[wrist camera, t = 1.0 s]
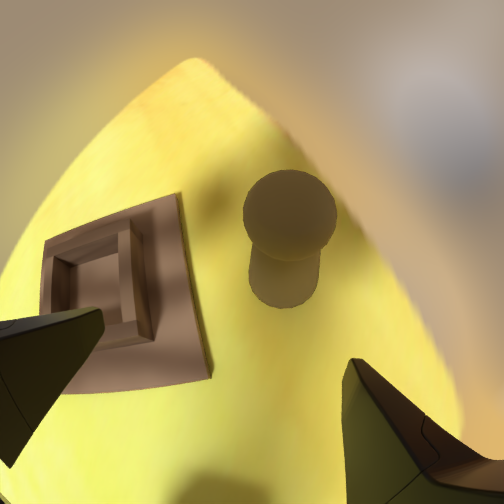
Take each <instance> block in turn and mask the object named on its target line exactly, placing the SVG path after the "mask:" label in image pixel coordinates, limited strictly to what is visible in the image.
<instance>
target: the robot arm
mask: <svg viewBox="0 0 504 504" xmlns="http://www.w3.org/2000/svg"><path fill="white" fill-rule="evenodd" d="M104 332H105V324H104V317H103V312H102V310H101V309H100V308H97V307H94V306H91V307H85V308H80V309H74V310H68V311H63V312H57V313H51V314H45V315H39V316H33V317H27V318H20V319H18V320H17V319H14V320H7V321H0V459H1V460H2V461H3V462H4V463H5V465H6V466H7V467H8V468H9V469H11V467H12V466H13V465H14V463H15V461H16V460H17V458H18V457H19V455H20V453H21V452H22V450H23V449H24V447H25V445H26V444H27V442H28V441H29V439H30V438H31V436H32V435H33V432H34V431H35V430H36V429H37V427H38V426H39V424H40V423H41V421H42V420H43V418H44V417H45V415H46V414H47V413H48V411H49V410H50V408H51V407H52V406H53V404H54V403H55V401H56V400H57V399H58V397H59V396H60V395H61V393H62V392H63V391H64V389H65V388H66V387H67V385H68V384H69V383H70V381H71V380H72V379H73V377H74V376H75V375H76V373H77V372H78V371H79V369H80V368H81V367H82V366H83V364H84V363H85V362H86V360H87V359H88V357H89V356H90V354H91V353H92V351H93V349H94V348H95V346H96V345H97V343H98V342H99V340H100V339H101V337H102V336H103V334H104ZM341 421H342V433H343V444H344V457H345V472H346V493H347V504H504V460H492V459H488V458H485V457H483V456H481V455H480V454H478V453H477V452H475V451H474V450H472V449H471V448H469V447H468V446H466V445H465V444H463V443H462V442H461V441H459V440H458V439H456V438H455V437H453V436H452V435H451V434H449V433H448V432H447V431H445V430H444V429H443V428H441V427H440V426H439V425H438V424H437V423H435V422H434V421H433V420H432V419H431V418H430V417H428V416H427V415H426V416H425V413H424V412H423V411H421V410H420V409H419V408H418V407H417V406H416V405H414V404H413V403H412V402H411V401H410V400H409V399H408V398H406V397H405V396H404V395H403V394H402V393H401V392H400V391H398V390H397V389H396V388H395V387H394V386H393V385H392V384H390V383H389V382H388V381H387V380H386V379H385V378H384V377H383V376H381V375H380V374H379V373H378V372H377V371H376V370H375V369H373V368H372V367H371V366H370V365H369V364H368V363H367V362H365V361H364V360H363V359H359V358H351V359H350V360H349V362H348V365H347V368H346V370H345V373H344V376H343V379H342V420H341ZM0 504H11V503H10V502H9V501H8V500H7V499H6V498H5V497H4V496H3V495H2V494H1V493H0Z"/></svg>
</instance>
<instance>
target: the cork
mask: <svg viewBox="0 0 504 504" xmlns="http://www.w3.org/2000/svg"><path fill="white" fill-rule="evenodd" d="M336 219H337V210H336V206H335V201H334V198H333V196H332V195H331V193H330V192H329V190H328V189H327V187H326V186H325V185H324V184H323V183H322V182H321V181H320V180H318V179H317V178H316V177H314V176H312V175H310V174H308V173H306V172H302V171H297V170H280V171H276V172H273V173H270V174H268V175H266V176H265V177H263V178H261V179H260V180H259V181H258V182H256V184H255V185H254V186H253V187H252V188H251V189H250V191H249V192H248V195H247V197H246V200H245V203H244V207H243V221H244V226H245V229H246V231H247V233H248V236H249V238H250V239H251V241H252V242H253V245H252V252H251V259H250V266H249V283H250V286H251V288H252V291H253V292H254V294H255V295H256V296H257V297H258V298H259V300H261V301H262V302H264V303H265V304H267V305H269V306H272V307H276V308H280V309H283V308H293V307H295V306H298V305H300V304H303V303H304V302H305V301H306V300H307V299H309V298H310V297H311V295H312V294H313V292H314V290H315V289H316V286H317V282H318V276H319V264H320V251H321V249H322V248H323V247H324V246H325V245H327V243H328V241H329V239H330V238H331V236H332V234H333V232H334V230H335V226H336Z"/></svg>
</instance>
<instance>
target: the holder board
mask: <svg viewBox="0 0 504 504" xmlns="http://www.w3.org/2000/svg"><path fill="white" fill-rule="evenodd" d="M91 306H94V307H97V308H100V309H101V310H102V312H103V317H104V324H105V332H104V334H103V336H102V337H101V339H100V340H99V342H98V343H97V345H96V346H95V348H94V349H93V351H92V353H91V354H90V356H89V357H88V359H87V360H86V362H85V363H84V364H83V366H82V367H81V368H80V369H79V371H78V372H77V373H76V375H75V376H74V377H73V379H72V380H71V381H70V383H69V384H68V385H67V387H66V388H65V389H64V391H63V392H62V393H61V394H94V393H110V392H122V391H132V390H141V389H150V388H157V387H164V386H171V385H177V384H183V383H189V382H195V381H200V380H205V379H210V378H211V376H210V372H209V368H208V363H207V359H206V355H205V351H204V346H203V342H202V337H201V333H200V328H199V324H198V319H197V314H196V309H195V304H194V299H193V294H192V288H191V283H190V277H189V272H188V266H187V260H186V254H185V247H184V241H183V234H182V228H181V221H180V213H179V206H178V199H177V197H176V195H175V194H172V195H169V196H166V197H162V198H159V199H156V200H153V201H150V202H147V203H144V204H141V205H138V206H135V207H132V208H129V209H126V210H123V211H120V212H117V213H114V214H112V215H109V216H106V217H103V218H101V219H98V220H95V221H93V222H90V223H87V224H85V225H82V226H80V227H77V228H75V229H72V230H70V231H67V232H65V233H62V234H60V235H58V236H55V237H53V238H51V239H48V240H46V241H45V244H44V252H43V260H42V270H41V283H40V307H39V315H45V314H51V313H57V312H63V311H68V310H74V309H80V308H85V307H91Z"/></svg>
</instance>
